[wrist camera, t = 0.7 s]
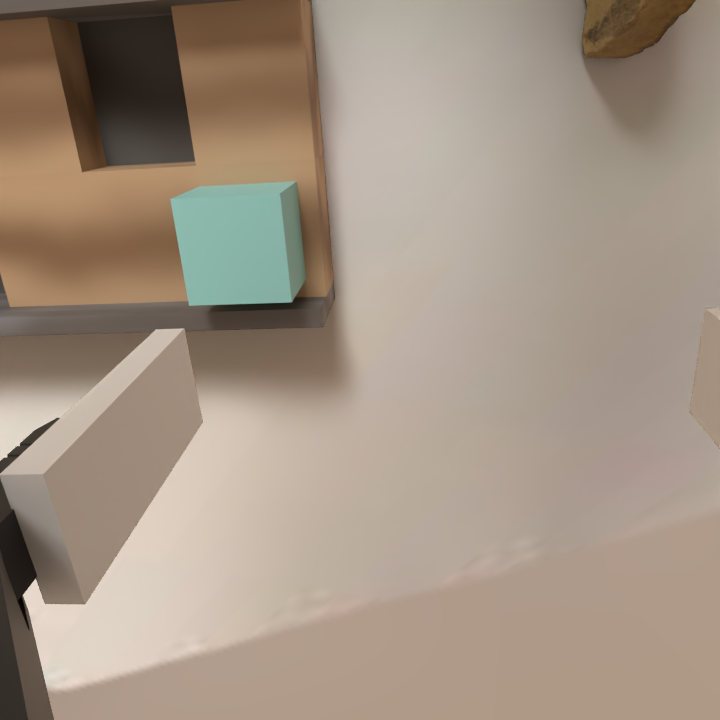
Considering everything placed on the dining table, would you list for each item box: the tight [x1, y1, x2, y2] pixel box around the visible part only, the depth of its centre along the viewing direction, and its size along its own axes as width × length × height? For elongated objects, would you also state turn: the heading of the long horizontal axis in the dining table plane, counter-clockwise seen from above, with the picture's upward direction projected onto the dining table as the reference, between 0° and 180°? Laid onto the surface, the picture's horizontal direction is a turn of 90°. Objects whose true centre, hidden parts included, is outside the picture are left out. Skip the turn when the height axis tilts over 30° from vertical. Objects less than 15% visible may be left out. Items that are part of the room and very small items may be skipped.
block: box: [170, 181, 306, 306], centre depth 31 cm, size 5×5×4 cm
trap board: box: [0, 0, 335, 336], centre depth 33 cm, size 16×28×5 cm, turn 93°
